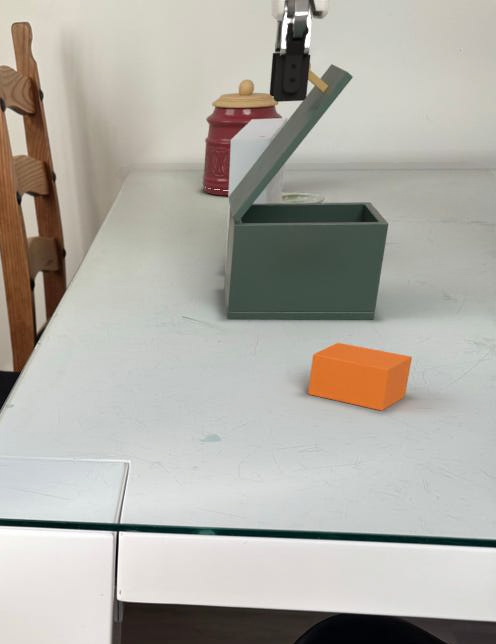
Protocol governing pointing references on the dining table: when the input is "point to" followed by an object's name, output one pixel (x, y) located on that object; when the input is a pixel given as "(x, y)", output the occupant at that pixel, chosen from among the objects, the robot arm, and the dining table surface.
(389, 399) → the orange block
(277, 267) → the bin
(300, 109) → the bin lid
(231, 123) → the kitchen canister
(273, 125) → the skincare box
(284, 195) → the saucer
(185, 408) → the dining table surface
